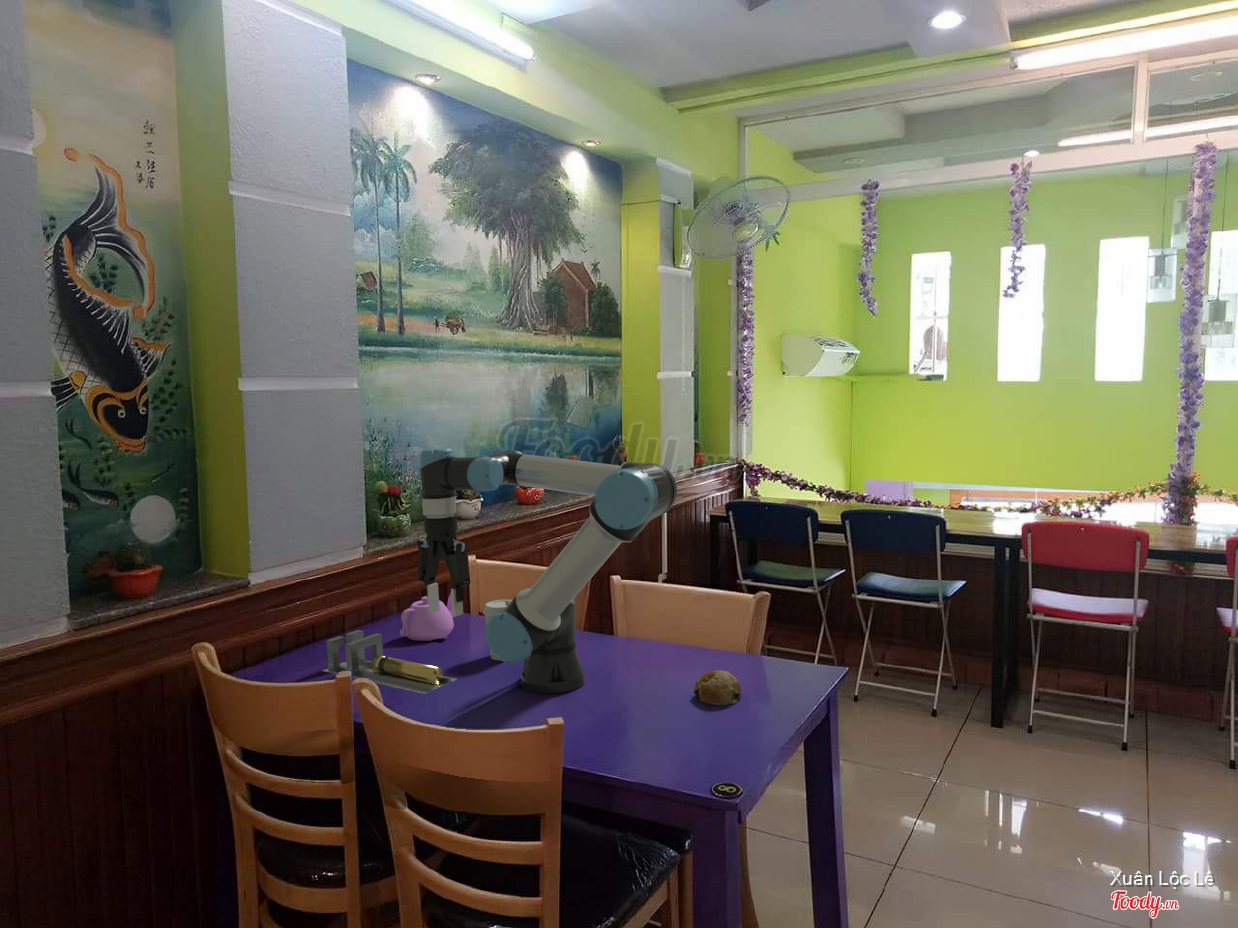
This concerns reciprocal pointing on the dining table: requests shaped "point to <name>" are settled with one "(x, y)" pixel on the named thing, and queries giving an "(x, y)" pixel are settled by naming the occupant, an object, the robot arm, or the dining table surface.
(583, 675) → the robot arm
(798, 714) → the dining table surface
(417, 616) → the teapot
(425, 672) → the tube
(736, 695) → the bread roll
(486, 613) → the coffee cup
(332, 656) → the collar base
